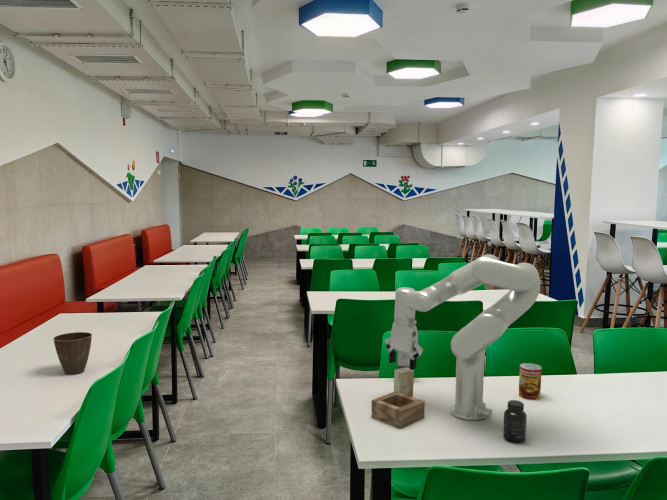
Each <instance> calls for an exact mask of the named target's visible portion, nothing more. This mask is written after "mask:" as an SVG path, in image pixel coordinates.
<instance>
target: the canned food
mask: <svg viewBox="0 0 667 500" xmlns="http://www.w3.org/2000/svg"><path fill="white" fill-rule="evenodd" d="M542 369H543V368H542V365H541V366H540V365H539V364H535V363H529V362H528V363H527V362H526V363H525V362H524V363H521V364H519V375H518V376H519V379H518V380H519V381H518V396H519V398H521V399H524V400H529V401H538V400H540V399H541V394H542V393H541V392H542V391H541V388H542V387H541V386H542Z"/></svg>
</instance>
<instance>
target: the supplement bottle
mask: <svg viewBox="0 0 667 500" xmlns="http://www.w3.org/2000/svg"><path fill="white" fill-rule="evenodd" d="M506 407H507V408H506V409H505V410H504V412H503V428H502V429H503V431H502V432H503V433H502V436H503V438H504V440H505V441H507V442H509V443H512V444H517V445H518V444H523V443H524V442H526V439H527V438H526V437H527V420H528V419H527V413H526V411H524V410H525V405H524V403H523V402H522V401H520V400H516V399H515V400H514V399H512V400H511V399H510V400H508V401H507V406H506Z"/></svg>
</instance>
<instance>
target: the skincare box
mask: <svg viewBox="0 0 667 500" xmlns="http://www.w3.org/2000/svg"><path fill="white" fill-rule="evenodd" d="M414 373H415V370H414V369H413V370H410V369H409V368H401V369H398V368H397V369H394V374H393V375H394V377H393V392H395V391H396V392H399V393H402V394H405V395H408V396H411V397H414V379H415V377H414V376H415V375H414Z"/></svg>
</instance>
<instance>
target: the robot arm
mask: <svg viewBox="0 0 667 500" xmlns="http://www.w3.org/2000/svg"><path fill="white" fill-rule="evenodd" d="M483 284H487V285H489V286H493V287H496V288H497V287H498V288H501V289H503V290H504V289H505V290H509V291H508V292H507V293H505V294H504V295H503V296H502V297H501V298H500V299H499V300H497V301H496V302H494V303H493V304H492V305H491V306H490V307H488V308H486V309H484V310H482V312H481V313H479V314H478V315H477V316H476V317H475V318H474V319H472V320H471V321H469V323H468V324H466V325H465V326H463V327H462V328H461V329H459V330H458V331H457V332H456V333H455V334H454V336H453V337H452V338H451V340H450V348H451V349H450V350H451V352H452V354H453V356H455V357H456V359H455V360H456V361H455V362H456V363H455V392H454V394H455V395H454V398H455V399H454V405H452V406H451V407H450V414H451V415H452V416H454V417H455V418H458V419H462V420H465V421H481V420H483V419H485V418H487V417H488V418H491V417H492V416H493V409H492V408H487V407H486V404H487V403H486V402H484V375H485V357H486V356H485V355H486V350H487V349H486V348H488V347H490V346H491V345H492V344H493V343H494V342H496V341H497V340H498V339H499V338H500V337H502V335H503V334H504V332H506V329H508V327H510V325H511V324H513V323H514V322H515V321H517V320H518V319H519V318H520V317H522V316H523V315H524V314H525V313H526V312H527V311H528V310H529V309H530V308H531V307H532V306H533V305H534V304H535V302H536V300H537V299H538V297H539V294H540V291H541V277H540V274H539V271H538V270H537V268H536V267H535V266H534V265H533V264H532V263H528V262H519V263H517V264H515V263H514V264H513V263H510V262H505V261H501V260H500V259H499V258H498V257H497V256H496V255H494V254H484V255H482V256H479V257H477V258H476V259H475V260H471V262H469V263H467V264H466V265H463V266H462V267H459V268H458V269H455V270H454V271H452V272H451V273H450V274H448V275H447V276H446V277H445V278H443V279H441V280H439V281H437V282H435V283H433V284H432V285H430V286H427V287H426V288H423V289H422V290H421V289H420V290H415V289H414V288H412V287H408V286H406V287H403V286H402V287H398V288H396V290H395V296H394V297H395V299H394V315H393V316H394V321H393V323H392V326H391V331H390V332H391V333H390V337H388V338H385V339H384V343H385V347H386V349H387V352H388V353H389V357H388V359H389V360H388V363H390V364H393V363H396V361H397V352H398V351H402V352H405V353H409V355H410V357H411V359H410V366H409V369H410V370H413V371H414V370H416V369H417V362H418V361H417V360H418V358H420V357H421V355H422V353H423V351H424V348H423V347H422V346H421V345H419V337H418V336H419V335H418V328H417V325H416V324H417V323H418V322H417V320H416V311H418V312H423V313H424V312H425V313H426V312H428V311H430V310H432V309H433V308H435V307H436V306H439V305H441V304H443V303H444V302H446V301H448V300H450V299H452V298H454V297H456V296H460V295H464V294H466V293H468V292H470V291H472V290H473V289H476V288H478V287H481V285H483ZM412 353H413V354H412Z"/></svg>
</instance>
